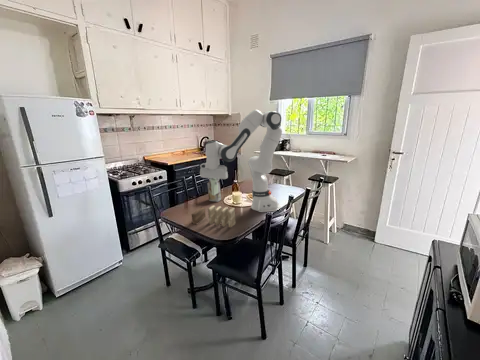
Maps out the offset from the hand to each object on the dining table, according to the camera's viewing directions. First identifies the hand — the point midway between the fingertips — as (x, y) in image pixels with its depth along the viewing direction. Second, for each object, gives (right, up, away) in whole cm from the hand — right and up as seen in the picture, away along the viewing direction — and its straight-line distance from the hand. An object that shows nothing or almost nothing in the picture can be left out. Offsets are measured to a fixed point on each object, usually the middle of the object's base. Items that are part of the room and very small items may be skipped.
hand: (214, 184), depth 162 cm
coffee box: (-3, -15, +36) cm, 39 cm away
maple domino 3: (+8, -26, -9) cm, 29 cm away
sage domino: (0, -7, +2) cm, 7 cm away
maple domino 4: (+13, -27, -11) cm, 31 cm away
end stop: (-10, -25, -2) cm, 27 cm away
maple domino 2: (+4, -26, -7) cm, 27 cm away
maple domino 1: (-1, -26, -6) cm, 26 cm away
